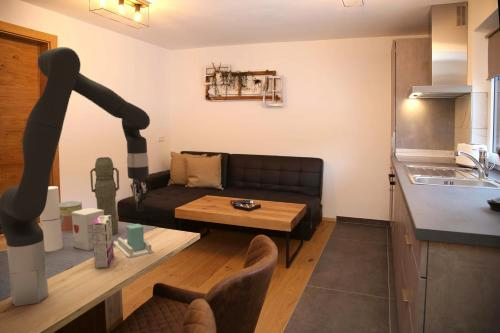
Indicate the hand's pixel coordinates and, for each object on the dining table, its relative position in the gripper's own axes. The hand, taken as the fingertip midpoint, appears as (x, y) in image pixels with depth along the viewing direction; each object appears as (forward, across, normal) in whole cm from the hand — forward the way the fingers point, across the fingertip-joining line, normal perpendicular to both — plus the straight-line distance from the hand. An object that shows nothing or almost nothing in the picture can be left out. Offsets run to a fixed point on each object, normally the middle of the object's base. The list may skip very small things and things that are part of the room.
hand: (140, 210), depth 138 cm
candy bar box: (+18, +2, +13) cm, 23 cm away
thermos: (+18, +36, +3) cm, 40 cm away
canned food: (+18, +55, +16) cm, 60 cm away
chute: (+18, +11, 0) cm, 21 cm away
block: (+17, +7, 0) cm, 18 cm away
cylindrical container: (+18, +30, +27) cm, 44 cm away
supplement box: (+18, +24, +14) cm, 33 cm away
